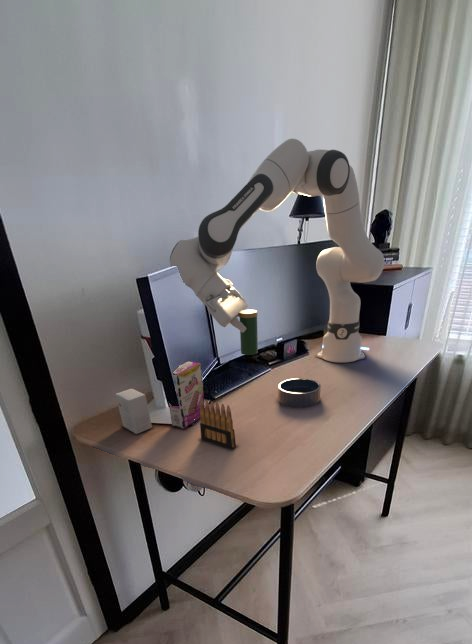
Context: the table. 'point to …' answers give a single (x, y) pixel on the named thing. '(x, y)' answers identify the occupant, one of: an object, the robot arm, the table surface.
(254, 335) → the tea tin
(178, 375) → the candy bar box
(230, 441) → the ammunition clip
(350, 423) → the table surface
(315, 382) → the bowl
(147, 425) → the small box
